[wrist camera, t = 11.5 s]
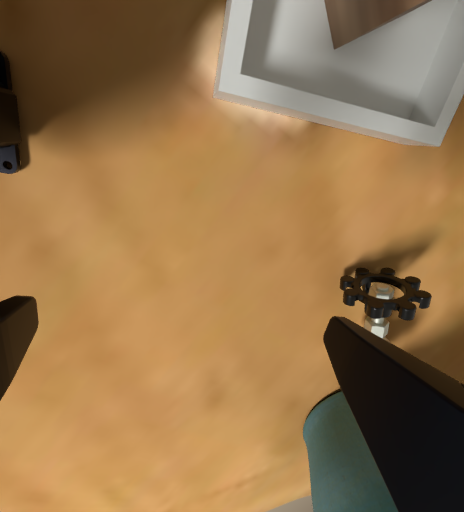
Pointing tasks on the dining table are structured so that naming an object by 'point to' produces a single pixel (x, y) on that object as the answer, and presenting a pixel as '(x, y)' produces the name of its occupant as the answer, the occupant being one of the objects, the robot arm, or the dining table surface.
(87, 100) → the dining table surface
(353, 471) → the flower pot
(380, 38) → the tray
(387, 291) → the valve
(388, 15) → the walnut block
